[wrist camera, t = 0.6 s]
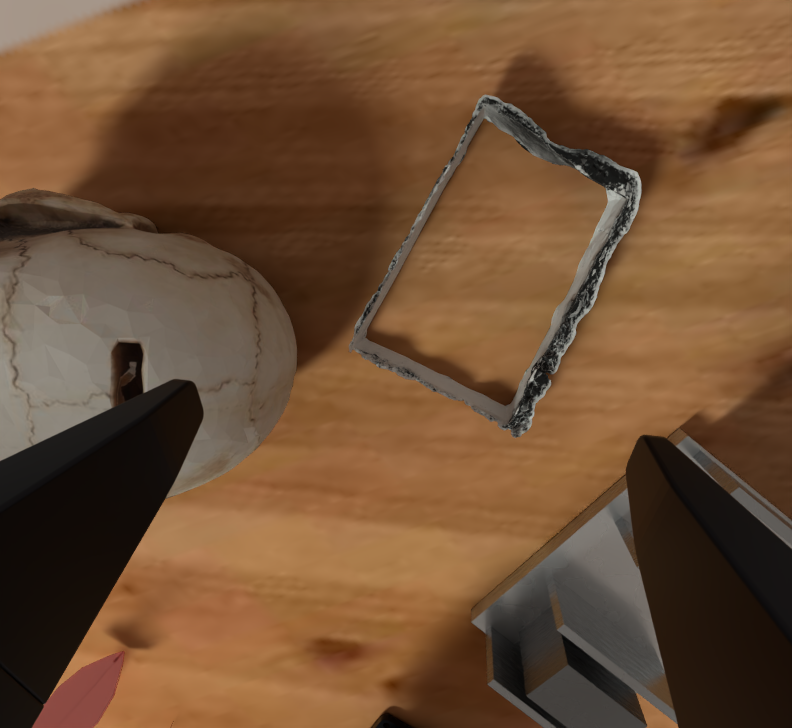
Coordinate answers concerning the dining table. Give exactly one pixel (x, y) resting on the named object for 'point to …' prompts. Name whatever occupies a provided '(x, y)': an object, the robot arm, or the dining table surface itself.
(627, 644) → the rack
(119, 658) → the figurine
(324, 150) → the dining table surface
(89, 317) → the coin bank
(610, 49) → the dining table surface
